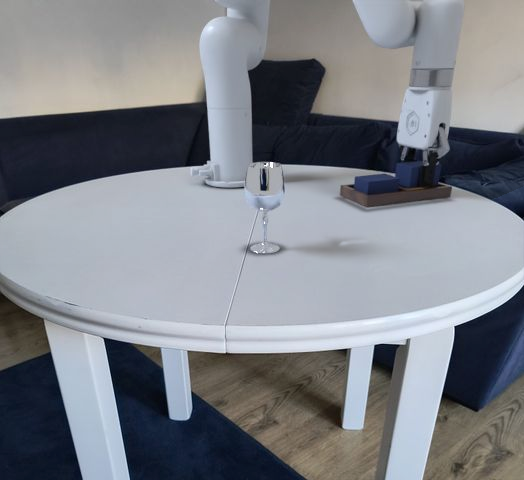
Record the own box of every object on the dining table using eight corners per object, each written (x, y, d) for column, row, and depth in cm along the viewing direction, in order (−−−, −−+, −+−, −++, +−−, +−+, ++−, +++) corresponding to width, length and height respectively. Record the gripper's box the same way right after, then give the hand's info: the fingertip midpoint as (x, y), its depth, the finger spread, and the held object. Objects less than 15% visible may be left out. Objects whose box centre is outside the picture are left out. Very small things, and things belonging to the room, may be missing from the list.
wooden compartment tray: (449, 199, 97) (452, 186, 95) (366, 210, 91) (367, 196, 89) (418, 189, 105) (420, 176, 103) (339, 198, 99) (340, 185, 97)
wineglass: (245, 242, 75) (243, 161, 69) (281, 241, 76) (282, 160, 70) (246, 255, 71) (244, 169, 64) (286, 254, 71) (287, 168, 65)
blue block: (366, 203, 93) (368, 181, 91) (352, 197, 97) (354, 176, 95) (397, 199, 95) (399, 178, 93) (382, 193, 99) (385, 173, 97)
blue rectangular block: (408, 188, 95) (411, 167, 93) (394, 183, 99) (396, 163, 97) (438, 185, 97) (441, 164, 95) (422, 180, 101) (425, 160, 99)
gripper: (386, 79, 94) (376, 177, 103) (445, 82, 80) (427, 194, 90) (418, 78, 96) (405, 173, 106) (481, 81, 83) (460, 190, 92)
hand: (416, 182), depth 97 cm, fingers closed on blue rectangular block, 5 cm apart
